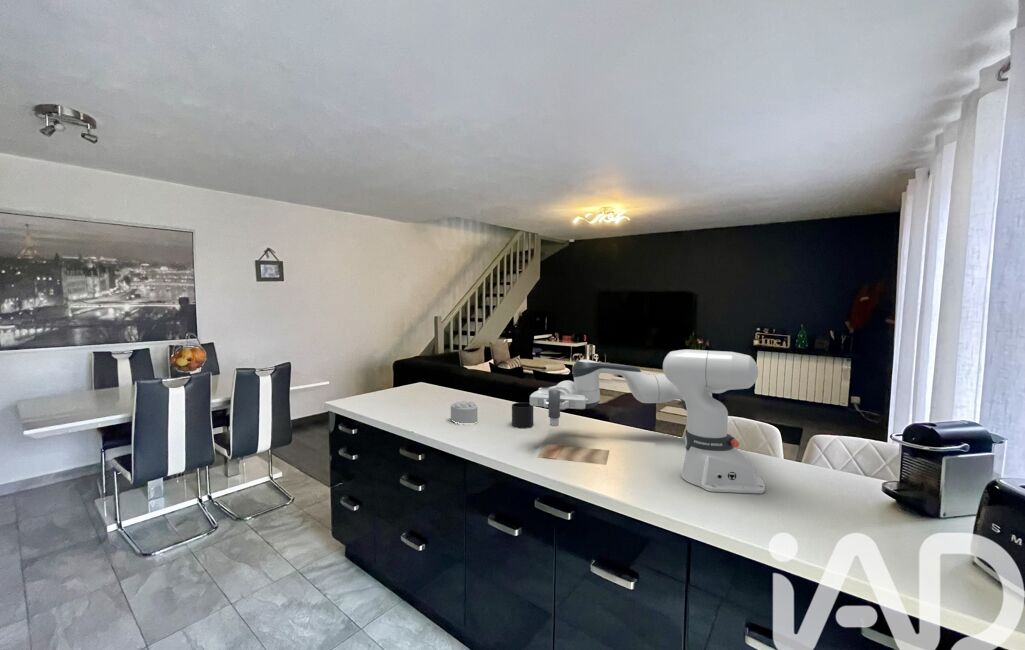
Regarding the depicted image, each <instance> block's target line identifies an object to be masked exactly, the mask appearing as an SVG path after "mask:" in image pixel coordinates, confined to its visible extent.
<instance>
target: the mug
mask: <svg viewBox="0 0 1025 650" xmlns="http://www.w3.org/2000/svg"><path fill="white" fill-rule="evenodd" d="M512 425H513V426H514V427H513V426H512ZM511 426H512V427H513V428H516V427H518V428H517V429H528V428H532V427H534V406H531V405H530V402H523V401H522V402H515V403H512V404H511Z"/></svg>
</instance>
